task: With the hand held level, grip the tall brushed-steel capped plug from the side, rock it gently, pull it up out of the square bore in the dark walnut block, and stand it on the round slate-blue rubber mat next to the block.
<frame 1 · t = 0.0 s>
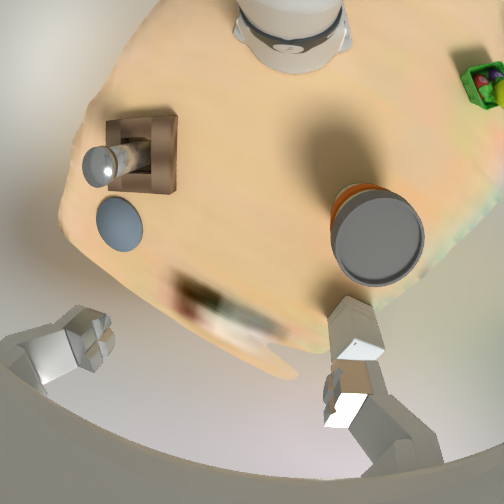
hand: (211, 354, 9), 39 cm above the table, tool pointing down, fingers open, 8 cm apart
walnut socket block: (143, 153, 45), on the table
steel plug: (122, 159, 39), in the walnut socket block
slate rubber mat: (119, 224, 53), on the table
fruit basket: (480, 88, 29), on the table
reusable coffee cup: (358, 208, 44), on the table
supplement box: (350, 312, 54), on the table
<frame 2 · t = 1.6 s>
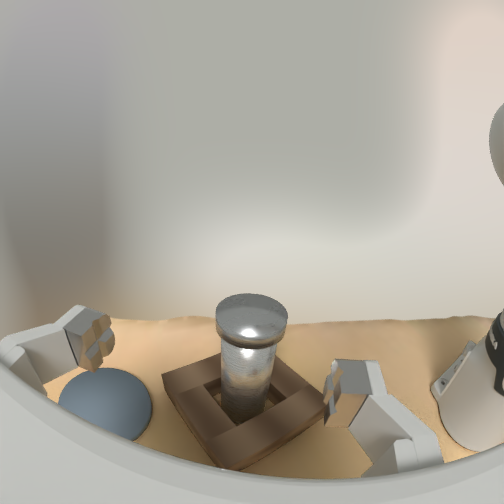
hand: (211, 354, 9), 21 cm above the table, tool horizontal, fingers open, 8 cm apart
walnut socket block: (242, 407, 28), on the table
steel plug: (246, 368, 25), in the walnut socket block
slate rubber mat: (103, 407, 24), on the table
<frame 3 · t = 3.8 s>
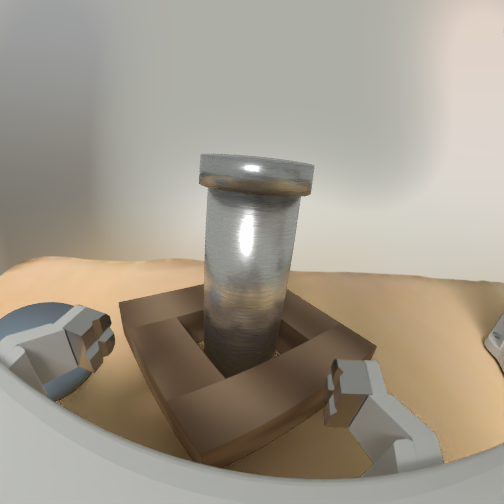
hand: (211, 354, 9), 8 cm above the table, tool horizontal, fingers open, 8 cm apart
walnut socket block: (238, 361, 19), on the table
steel plug: (246, 277, 16), in the walnut socket block
slate rubber mat: (36, 349, 15), on the table
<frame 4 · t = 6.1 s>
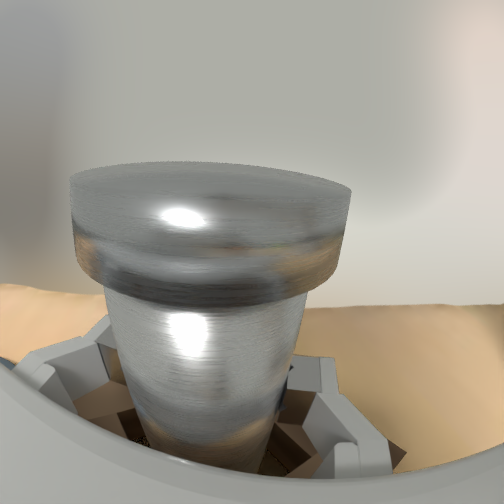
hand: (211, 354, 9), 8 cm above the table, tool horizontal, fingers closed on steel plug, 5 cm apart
walnut socket block: (209, 465, 11), on the table
steel plug: (205, 391, 8), in the walnut socket block, touching gripper
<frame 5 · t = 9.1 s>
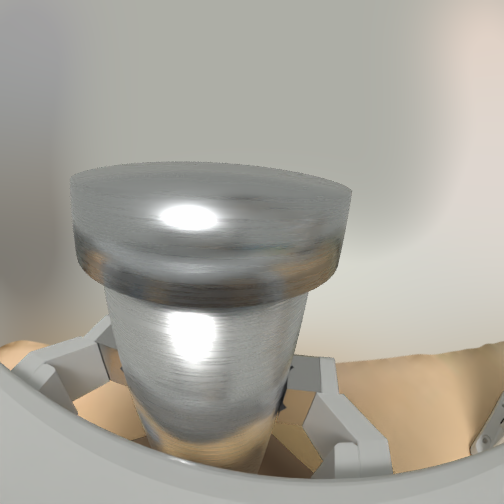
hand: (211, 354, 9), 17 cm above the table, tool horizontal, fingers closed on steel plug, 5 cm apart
walnut socket block: (216, 500, 14), on the table
steel plug: (205, 391, 8), point 16 cm above the table, touching gripper
when the fingers open (10 cm above the table, at t = 12.2 s): steel plug drops 1 cm, resting on slate rubber mat.
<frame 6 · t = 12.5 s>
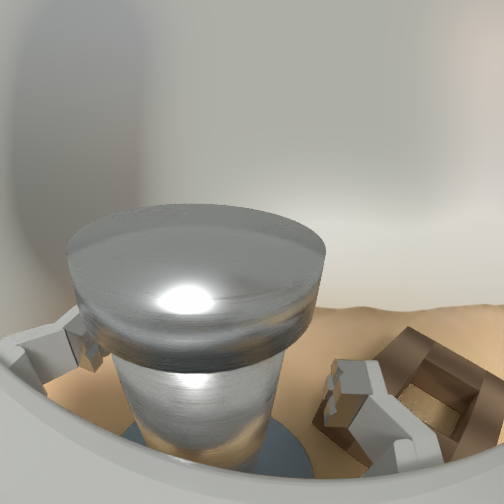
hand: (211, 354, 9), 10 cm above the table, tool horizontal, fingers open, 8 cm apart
walnut socket block: (423, 420, 15), on the table
steel plug: (201, 412, 9), on the slate rubber mat, point 8 cm above the table
slate rubber mat: (210, 477, 12), on the table
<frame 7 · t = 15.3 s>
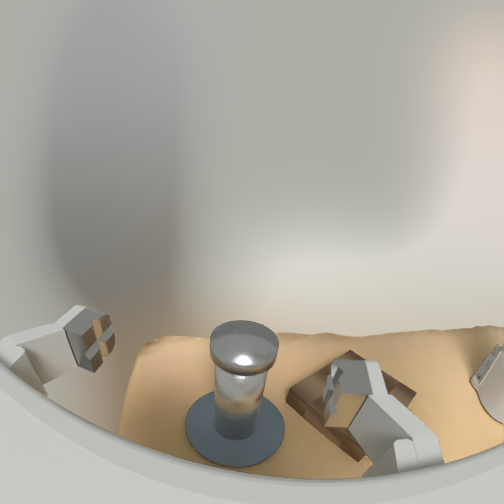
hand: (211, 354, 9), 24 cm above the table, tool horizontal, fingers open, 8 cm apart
walnut socket block: (351, 406, 32), on the table
steel plug: (238, 390, 26), on the slate rubber mat, point 8 cm above the table
slate rubber mat: (234, 427, 28), on the table
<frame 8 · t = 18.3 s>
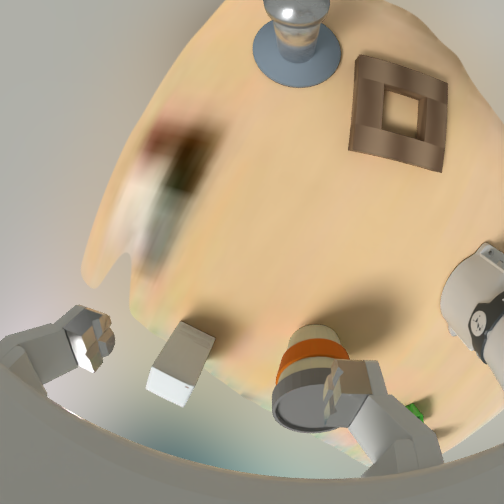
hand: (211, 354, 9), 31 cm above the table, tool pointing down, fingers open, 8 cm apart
walnut socket block: (397, 114, 30), on the table
steel plug: (296, 27, 22), on the slate rubber mat, point 8 cm above the table
slate rubber mat: (296, 50, 29), on the table
fruit basket: (403, 415, 51), on the table
reusable coffee cup: (313, 344, 45), on the table
supplement box: (192, 341, 49), on the table
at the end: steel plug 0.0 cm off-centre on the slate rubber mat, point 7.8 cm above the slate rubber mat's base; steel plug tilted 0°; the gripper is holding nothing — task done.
